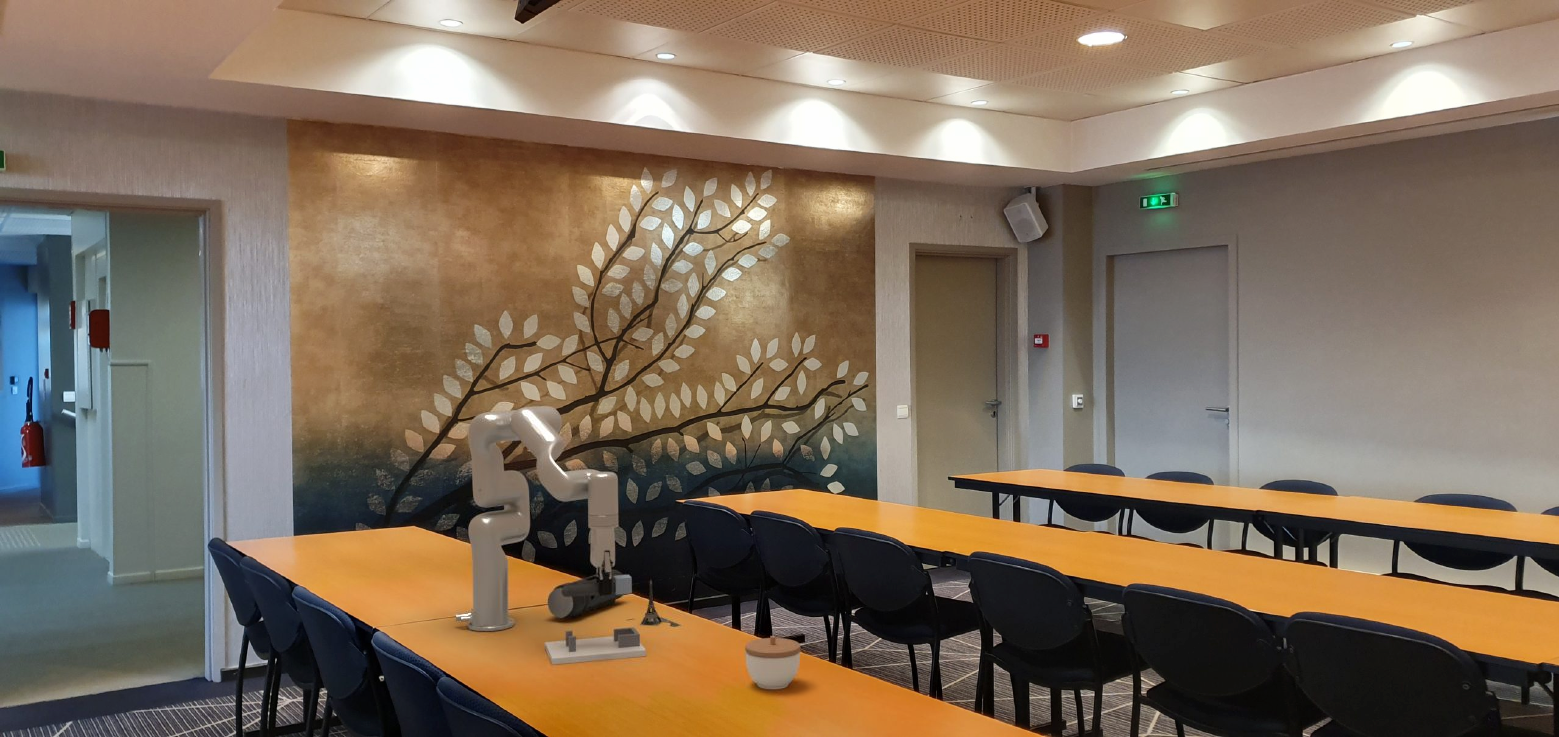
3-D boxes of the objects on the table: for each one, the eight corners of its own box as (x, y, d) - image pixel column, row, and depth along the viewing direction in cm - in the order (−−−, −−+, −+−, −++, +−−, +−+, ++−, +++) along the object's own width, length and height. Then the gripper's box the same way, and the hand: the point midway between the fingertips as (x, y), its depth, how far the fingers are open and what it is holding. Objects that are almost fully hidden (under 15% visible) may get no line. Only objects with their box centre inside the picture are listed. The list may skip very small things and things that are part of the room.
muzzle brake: (627, 603, 332) (627, 569, 332) (573, 624, 307) (572, 587, 307) (601, 600, 336) (601, 567, 336) (545, 621, 311) (545, 584, 311)
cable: (562, 598, 274) (562, 582, 274) (560, 595, 277) (560, 579, 277) (631, 593, 279) (631, 577, 279) (628, 589, 283) (628, 574, 283)
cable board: (552, 664, 267) (552, 643, 267) (544, 647, 282) (544, 628, 282) (646, 655, 275) (645, 635, 274) (633, 640, 290) (633, 620, 290)
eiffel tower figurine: (682, 627, 305) (681, 579, 305) (649, 632, 299) (649, 583, 299) (656, 616, 317) (655, 570, 317) (624, 622, 312) (624, 575, 311)
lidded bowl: (781, 696, 242) (781, 646, 242) (734, 687, 248) (734, 638, 248) (810, 681, 252) (810, 633, 252) (764, 673, 259) (764, 626, 259)
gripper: (583, 517, 285) (584, 588, 285) (593, 526, 270) (594, 601, 270) (612, 515, 288) (613, 586, 288) (623, 524, 272) (624, 598, 272)
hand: (604, 592), depth 279 cm, fingers closed on cable, 2 cm apart
